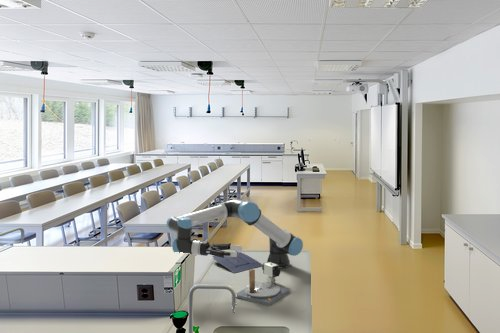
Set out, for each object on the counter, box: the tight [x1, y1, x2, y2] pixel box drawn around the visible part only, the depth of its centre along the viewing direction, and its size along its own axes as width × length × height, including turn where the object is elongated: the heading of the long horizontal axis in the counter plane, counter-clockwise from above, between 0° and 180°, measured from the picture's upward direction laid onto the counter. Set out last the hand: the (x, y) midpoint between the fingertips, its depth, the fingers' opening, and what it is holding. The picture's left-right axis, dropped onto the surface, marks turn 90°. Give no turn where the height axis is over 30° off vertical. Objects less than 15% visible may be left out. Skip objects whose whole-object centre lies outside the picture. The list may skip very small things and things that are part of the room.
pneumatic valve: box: [261, 261, 281, 284], centre depth 257 cm, size 6×12×12 cm, turn 37°
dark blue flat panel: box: [211, 250, 263, 274], centre depth 293 cm, size 24×30×4 cm
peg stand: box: [244, 268, 281, 298], centre depth 238 cm, size 19×19×14 cm
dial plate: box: [235, 281, 291, 306], centre depth 239 cm, size 22×22×2 cm
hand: (239, 251), depth 233 cm, fingers open, 13 cm apart
